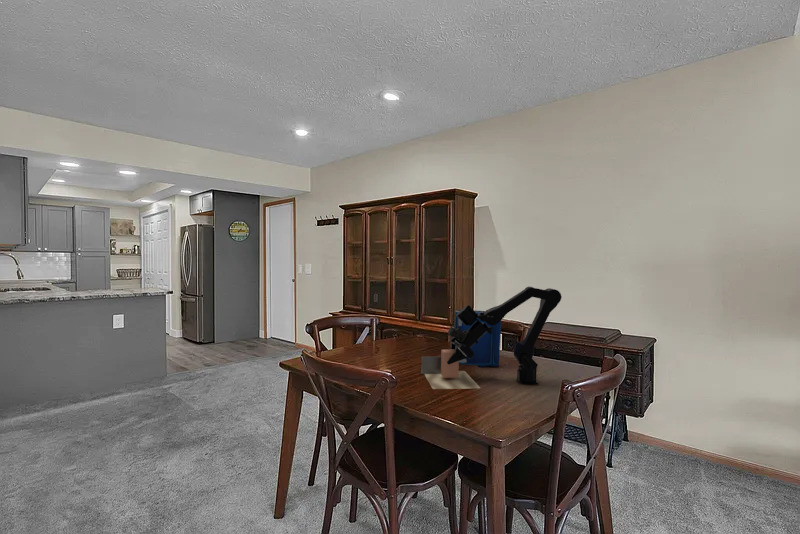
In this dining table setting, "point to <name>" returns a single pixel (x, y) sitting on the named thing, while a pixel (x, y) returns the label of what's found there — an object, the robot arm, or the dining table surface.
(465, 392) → the dining table surface
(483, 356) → the book
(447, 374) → the salmon pink rectangular block
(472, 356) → the robot arm
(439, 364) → the bookend
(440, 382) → the beige cloth placemat
